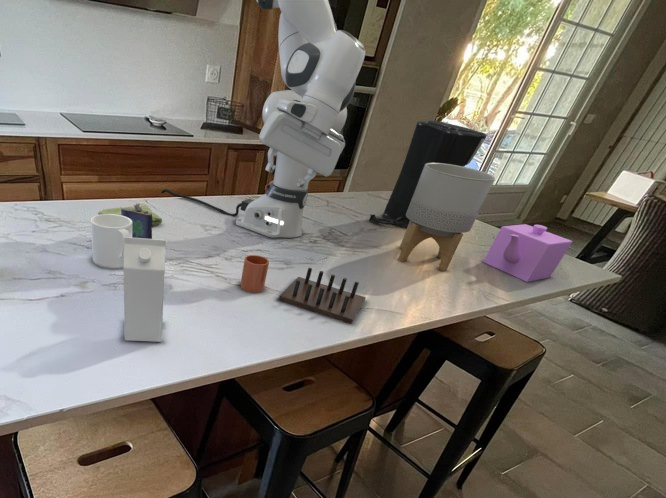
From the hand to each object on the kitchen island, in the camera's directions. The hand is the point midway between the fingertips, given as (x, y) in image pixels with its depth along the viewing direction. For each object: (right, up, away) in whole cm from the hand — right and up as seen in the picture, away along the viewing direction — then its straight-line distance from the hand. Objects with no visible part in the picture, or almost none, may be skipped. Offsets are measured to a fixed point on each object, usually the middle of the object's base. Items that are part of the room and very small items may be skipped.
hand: (284, 179), depth 105 cm
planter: (+50, -10, +33) cm, 61 cm away
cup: (-8, -26, +3) cm, 27 cm away
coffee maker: (+59, +15, +67) cm, 90 cm away
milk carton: (-32, -40, -18) cm, 54 cm away
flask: (-39, -10, +18) cm, 44 cm away
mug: (-43, -19, +6) cm, 47 cm away
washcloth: (-43, +1, +31) cm, 54 cm away
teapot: (+80, -13, +34) cm, 88 cm away
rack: (+10, -29, +1) cm, 31 cm away
